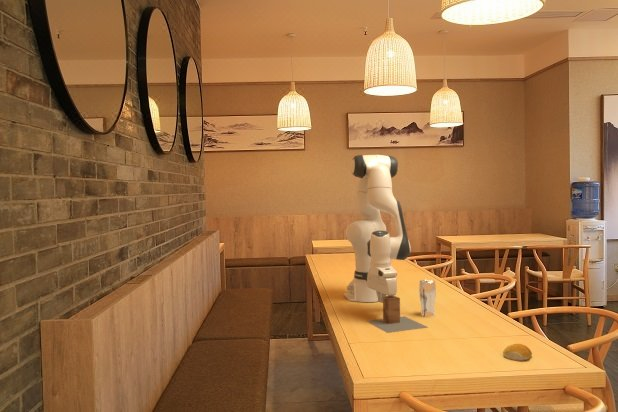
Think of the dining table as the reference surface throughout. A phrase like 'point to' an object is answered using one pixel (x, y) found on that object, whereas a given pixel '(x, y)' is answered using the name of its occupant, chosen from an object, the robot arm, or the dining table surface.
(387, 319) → the walnut block
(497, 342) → the dining table surface
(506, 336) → the dining table surface
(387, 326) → the rubber mat
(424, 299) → the beer glass
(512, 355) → the bread roll
